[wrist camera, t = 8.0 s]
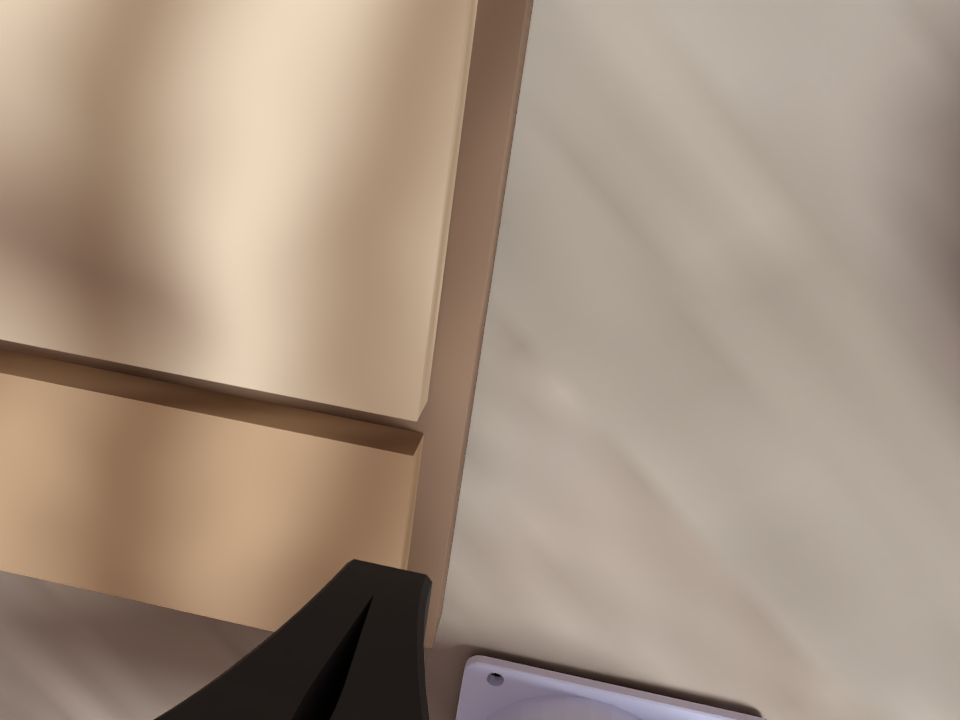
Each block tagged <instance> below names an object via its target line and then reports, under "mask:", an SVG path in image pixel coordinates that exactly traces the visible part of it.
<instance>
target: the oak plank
mask: <svg viewBox="0 0 960 720" xmlns="http://www.w3.org/2000/svg"><path fill="white" fill-rule="evenodd" d="M477 4H478V0H0V339H1V340H6V341H11V342H16V343H22V344H27V345H32V346H37V347H42V348H47V349H52V350H57V351H62V352H67V353H72V354H77V355H82V356H87V357H92V358H97V359H102V360H107V361H113V362H118V363H123V364H128V365H133V366H138V367H143V368H148V369H153V370H158V371H163V372H168V373H173V374H178V375H183V376H188V377H193V378H198V379H204V380H209V381H214V382H219V383H224V384H229V385H234V386H239V387H244V388H249V389H254V390H259V391H264V392H269V393H274V394H279V395H284V396H289V397H295V398H300V399H305V400H310V401H315V402H320V403H325V404H330V405H335V406H340V407H345V408H350V409H355V410H360V411H365V412H370V413H375V414H380V415H386V416H391V417H396V418H401V419H406V420H411V421H416V422H417V420H418V418H419V416H420V414H421V413H422V411H423V409H424V407H425V405H426V403H427V401H428V393H429V385H430V377H431V369H432V361H433V353H434V345H435V337H436V329H437V321H438V313H439V306H440V298H441V290H442V282H443V274H444V266H445V258H446V250H447V242H448V234H449V226H450V218H451V210H452V203H453V195H454V187H455V179H456V171H457V163H458V155H459V147H460V139H461V131H462V123H463V115H464V107H465V99H466V92H467V84H468V76H469V68H470V60H471V52H472V44H473V36H474V28H475V20H476V12H477Z"/></svg>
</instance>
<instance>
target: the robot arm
mask: <svg viewBox="0 0 960 720" xmlns="http://www.w3.org/2000/svg"><path fill="white" fill-rule="evenodd" d="M431 589H432V581H431V579H430V578H429V577H428V576H427V574H422V573H417V572H413V571H408V570H403V569H399V568H394V567H389V566H385V565H380V564H375V563H371V562H366V561H361V560H357V559H353V560H351V561H350V562H348V563H346V565H345V566H344V567H343V568H342V569H341V570H340V571H339V572H338V573H337V574H336V575H335V576H334V577H333V578H332V579H331V580H330V581H329V582H328V583H327V584H326V585H325V586H324V587H323V588H322V589H321V590H320V591H319V592H318V593H317V594H316V595H315V596H314V597H313V598H312V599H311V600H310V601H309V602H308V603H307V604H305V605H304V606H303V607H302V608H301V609H300V610H299V611H298V612H297V613H296V614H295V615H293V616H292V617H291V618H290V619H289V620H288V621H287V622H285V623H284V624H283V625H282V626H281V627H280V628H279V629H278V630H276V631H275V632H274V633H273V634H272V635H271V636H270V637H268V638H267V639H266V640H265V641H264V642H262V643H261V644H260V645H259V646H257V647H256V648H255V649H254V650H252V651H251V652H250V653H249V654H247V655H246V656H245V657H243V658H242V659H241V660H240V661H238V662H237V663H236V664H235V665H233V666H232V667H231V668H230V669H228V670H227V671H226V672H224V673H223V674H222V675H220V676H219V677H217V678H216V679H215V680H213V681H212V682H211V683H209V684H208V685H206V686H205V687H203V688H202V689H201V690H199V691H198V692H196V693H195V694H193V695H192V696H190V697H189V698H187V699H186V700H184V701H183V702H181V703H180V704H178V705H177V706H175V707H174V708H172V709H170V710H169V711H167V712H166V713H164V714H162V715H161V716H159V717H157V718H156V719H154V720H429V714H428V706H427V697H426V686H425V670H424V638H425V631H426V624H427V617H428V610H429V603H430V596H431ZM491 673H497V674H500V675H501V677H495V676H493V675H491ZM456 720H766V719H763V718H761V717H757V716H752V715H748V714H743V713H739V712H734V711H730V710H725V709H721V708H716V707H712V706H707V705H703V704H698V703H694V702H689V701H685V700H680V699H676V698H671V697H667V696H662V695H658V694H653V693H649V692H644V691H640V690H635V689H631V688H626V687H622V686H617V685H613V684H608V683H604V682H599V681H595V680H590V679H586V678H581V677H577V676H572V675H568V674H563V673H559V672H554V671H550V670H545V669H541V668H536V667H532V666H527V665H523V664H518V663H514V662H510V661H505V660H501V659H496V658H492V657H487V656H481V655H476V656H473V657H471V658H469V659H468V660H467V662H466V664H465V668H464V673H463V679H462V685H461V691H460V697H459V702H458V708H457V714H456Z"/></svg>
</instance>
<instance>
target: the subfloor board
mask: <svg viewBox="0 0 960 720" xmlns="http://www.w3.org/2000/svg"><path fill="white" fill-rule="evenodd" d="M532 7H533V0H478V4H477V12H476V20H475V28H474V36H473V44H472V52H471V60H470V68H469V76H468V84H467V92H466V99H465V107H464V115H463V123H462V131H461V139H460V147H459V155H458V163H457V171H456V179H455V187H454V195H453V203H452V210H451V218H450V226H449V234H448V242H447V250H446V258H445V266H444V274H443V282H442V290H441V298H440V306H439V313H438V321H437V329H436V337H435V345H434V353H433V361H432V369H431V377H430V385H429V393H428V401H427V403H426V405H425V407H424V409H423V411H422V413H421V414H420V416H419V418H418V420H417V422H416V421H411V420H406V419H401V418H396V417H391V416H386V415H380V414H375V413H370V412H365V411H360V410H355V409H350V408H345V407H340V406H335V405H330V404H325V403H320V402H315V401H310V400H305V399H300V398H295V397H289V396H284V395H279V394H274V393H269V392H264V391H259V390H254V389H249V388H244V387H239V386H234V385H229V384H224V383H219V382H214V381H209V380H204V379H198V378H193V377H188V376H183V375H178V374H173V373H168V372H163V371H158V370H153V369H148V368H143V367H138V366H133V365H128V364H123V363H118V362H113V361H107V360H102V359H97V358H92V357H87V356H82V355H77V354H72V353H67V352H62V351H57V350H52V349H47V348H42V347H37V346H32V345H27V344H22V343H16V342H11V341H6V340H1V339H0V570H1V571H6V572H10V573H15V574H19V575H24V576H28V577H33V578H37V579H41V580H46V581H50V582H55V583H59V584H64V585H68V586H72V587H77V588H81V589H86V590H90V591H95V592H99V593H104V594H108V595H112V596H117V597H121V598H126V599H130V600H135V601H139V602H144V603H148V604H152V605H157V606H161V607H166V608H170V609H175V610H179V611H183V612H188V613H192V614H197V615H201V616H206V617H210V618H215V619H219V620H223V621H228V622H232V623H237V624H241V625H246V626H250V627H255V628H259V629H263V630H268V631H272V632H275V631H276V630H278V629H279V628H280V627H281V626H282V625H283V624H284V623H285V622H287V621H288V620H289V619H290V618H291V617H292V616H293V615H295V614H296V613H297V612H298V611H299V610H300V609H301V608H302V607H303V606H304V605H305V604H307V603H308V602H309V601H310V600H311V599H312V598H313V597H314V596H315V595H316V594H317V593H318V592H319V591H320V590H321V589H322V588H323V587H324V586H325V585H326V584H327V583H328V582H329V581H330V580H331V579H332V578H333V577H334V576H335V575H336V574H337V573H338V572H339V571H340V570H341V569H342V568H343V567H344V566H345V565H346V563H348V562H350V561H351V560H353V559H357V560H361V561H366V562H371V563H375V564H380V565H385V566H389V567H394V568H399V569H403V570H408V571H413V572H417V573H422V574H427V576H428V577H429V578H430V579H431V581H432V589H431V596H430V603H429V610H428V617H427V624H426V631H425V638H424V647H425V648H429V649H431V648H432V645H433V642H434V638H435V635H436V632H437V628H438V625H439V621H440V618H441V615H442V608H443V601H444V595H445V588H446V581H447V575H448V568H449V561H450V554H451V548H452V541H453V534H454V528H455V521H456V514H457V508H458V501H459V494H460V488H461V481H462V474H463V468H464V461H465V454H466V448H467V441H468V434H469V428H470V421H471V414H472V408H473V401H474V394H475V388H476V381H477V374H478V368H479V361H480V354H481V348H482V341H483V334H484V327H485V321H486V314H487V307H488V301H489V294H490V287H491V281H492V274H493V267H494V261H495V254H496V247H497V241H498V234H499V227H500V221H501V214H502V207H503V201H504V194H505V187H506V181H507V174H508V167H509V161H510V154H511V147H512V141H513V134H514V127H515V121H516V114H517V107H518V100H519V94H520V87H521V80H522V74H523V67H524V60H525V54H526V47H527V40H528V34H529V27H530V20H531V14H532Z"/></svg>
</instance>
